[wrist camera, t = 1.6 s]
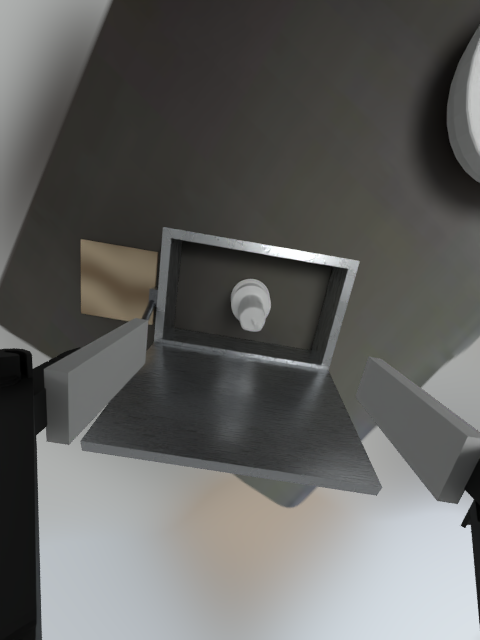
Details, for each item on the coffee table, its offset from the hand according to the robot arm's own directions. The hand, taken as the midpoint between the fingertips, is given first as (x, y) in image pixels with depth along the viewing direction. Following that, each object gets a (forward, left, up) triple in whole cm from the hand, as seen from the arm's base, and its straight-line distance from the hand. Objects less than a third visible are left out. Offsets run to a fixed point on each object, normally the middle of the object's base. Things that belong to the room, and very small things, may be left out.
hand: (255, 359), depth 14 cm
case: (+1, -1, -20) cm, 20 cm away
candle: (0, 0, -20) cm, 20 cm away
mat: (+1, -18, -20) cm, 27 cm away
